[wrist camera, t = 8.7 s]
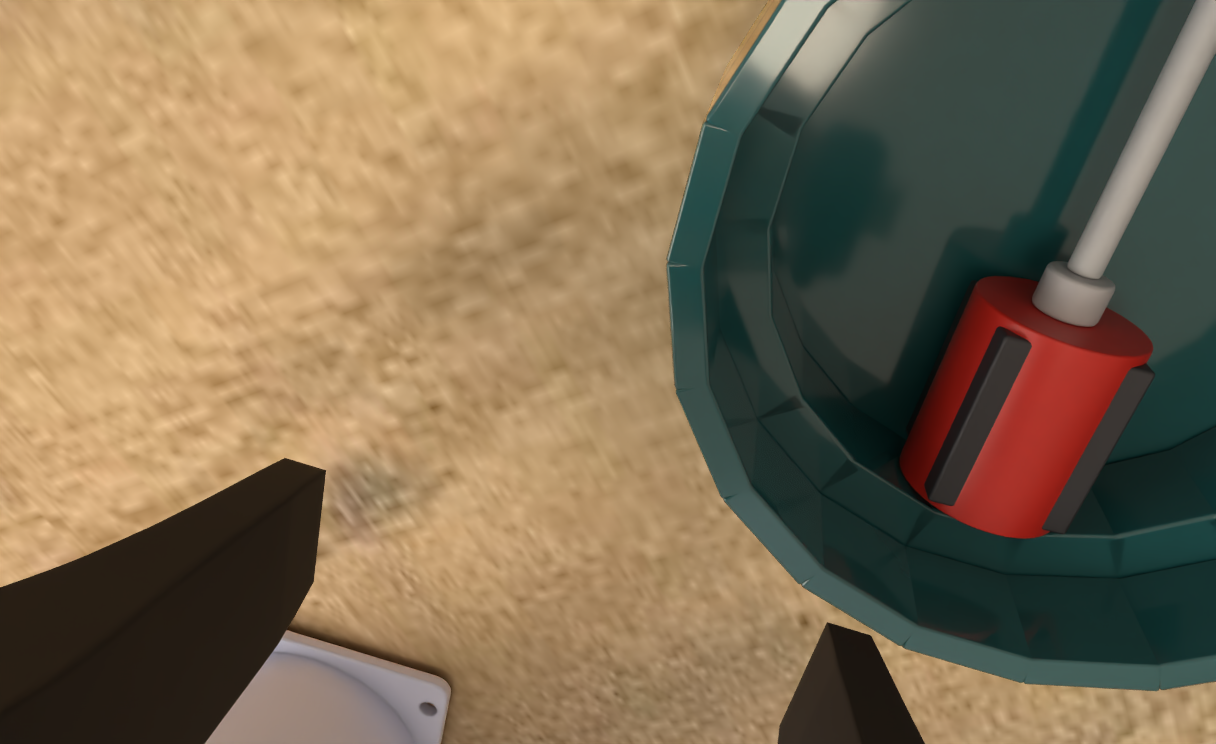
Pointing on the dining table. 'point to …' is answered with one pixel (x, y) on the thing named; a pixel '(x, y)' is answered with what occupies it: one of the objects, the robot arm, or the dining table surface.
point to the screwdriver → (1049, 353)
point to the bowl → (950, 318)
